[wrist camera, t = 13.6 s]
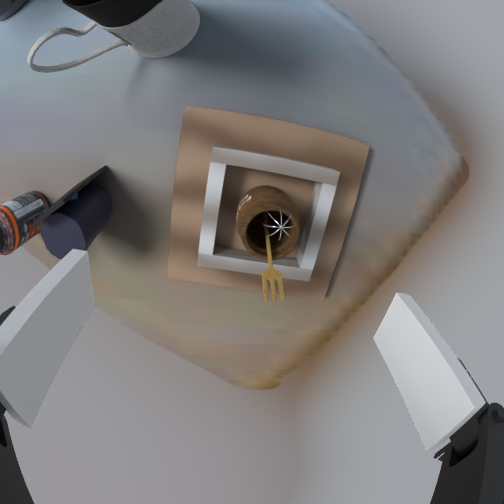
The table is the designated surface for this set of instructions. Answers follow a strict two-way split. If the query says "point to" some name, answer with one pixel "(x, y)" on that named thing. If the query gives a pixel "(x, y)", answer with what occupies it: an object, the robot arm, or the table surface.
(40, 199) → the supplement bottle
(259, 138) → the socket plate
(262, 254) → the utensil holder
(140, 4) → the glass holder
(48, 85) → the table surface
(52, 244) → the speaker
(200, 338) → the table surface
